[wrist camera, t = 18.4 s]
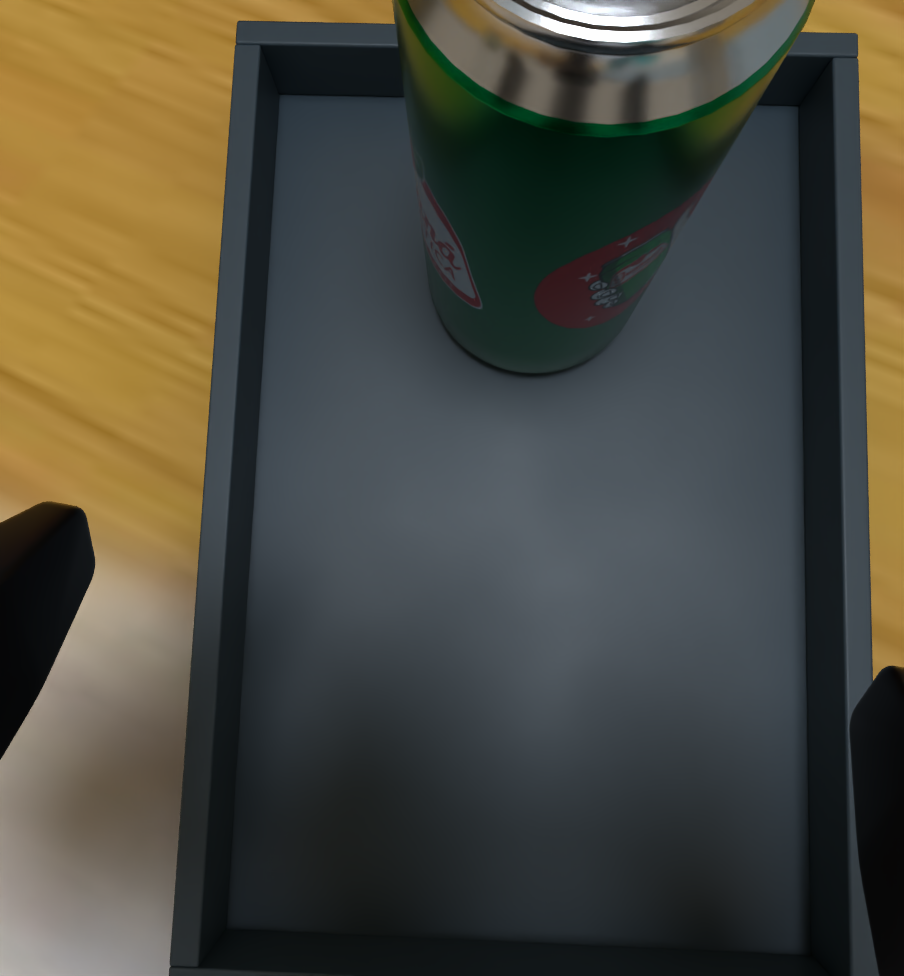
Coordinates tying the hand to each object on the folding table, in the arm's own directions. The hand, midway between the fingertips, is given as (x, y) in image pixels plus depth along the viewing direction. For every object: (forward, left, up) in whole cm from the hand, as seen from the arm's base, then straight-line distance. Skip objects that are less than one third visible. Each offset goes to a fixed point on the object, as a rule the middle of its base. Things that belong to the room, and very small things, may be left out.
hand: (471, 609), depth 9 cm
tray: (+2, -1, -11) cm, 11 cm away
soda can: (+8, -1, -10) cm, 13 cm away
